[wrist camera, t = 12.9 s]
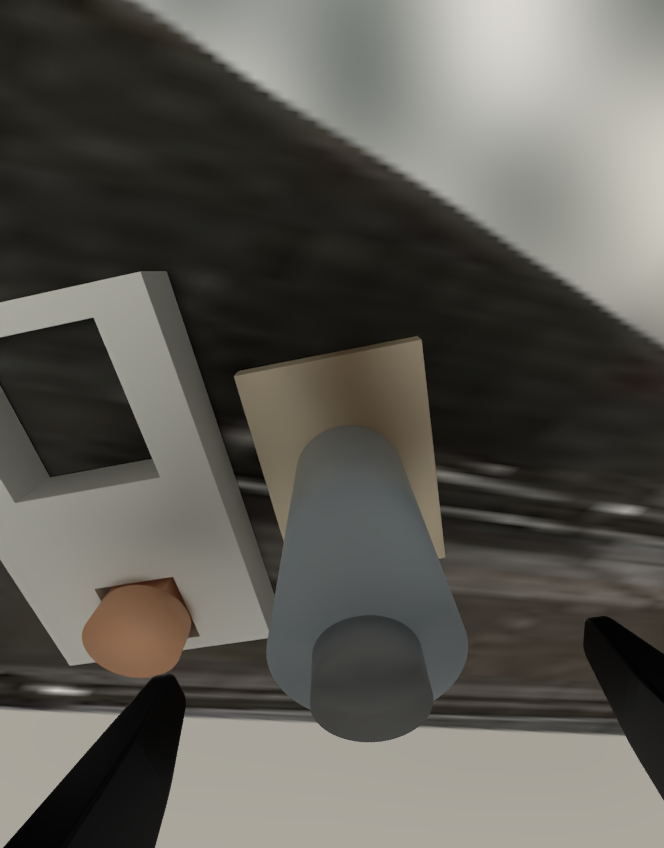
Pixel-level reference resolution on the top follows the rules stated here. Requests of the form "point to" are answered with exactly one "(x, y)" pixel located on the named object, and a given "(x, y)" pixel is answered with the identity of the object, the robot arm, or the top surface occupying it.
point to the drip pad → (344, 415)
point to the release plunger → (139, 628)
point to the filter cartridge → (361, 594)
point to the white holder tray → (132, 483)
